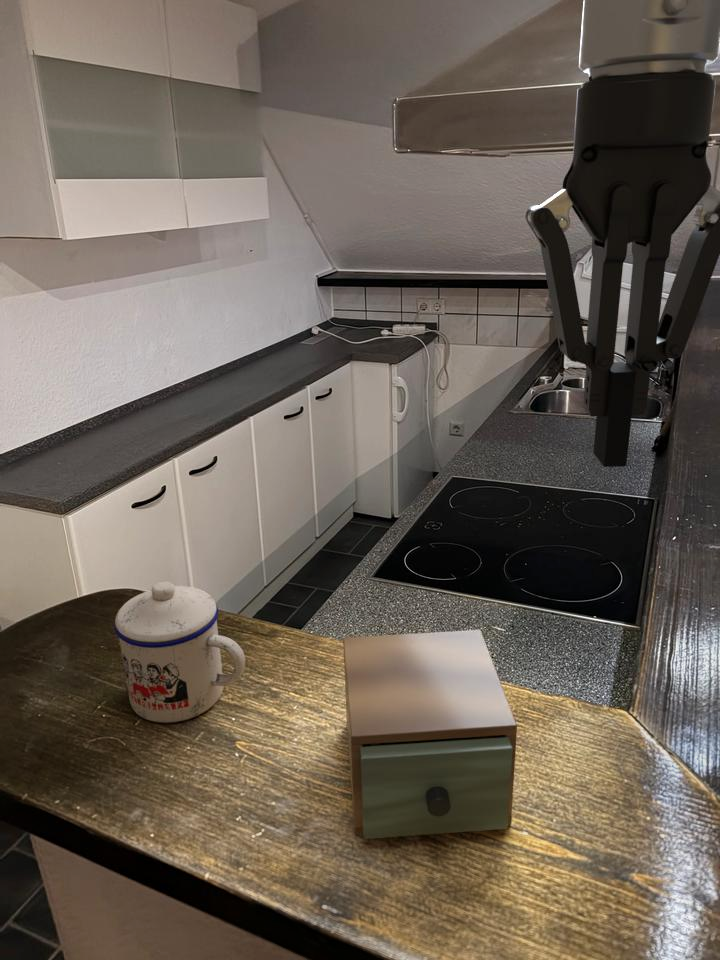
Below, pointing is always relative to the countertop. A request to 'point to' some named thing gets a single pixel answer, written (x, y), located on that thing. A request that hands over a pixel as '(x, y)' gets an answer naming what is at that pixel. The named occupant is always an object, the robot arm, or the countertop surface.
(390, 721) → the cabinet
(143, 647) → the teacup with lid
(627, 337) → the robot arm
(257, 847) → the countertop surface
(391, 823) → the drawer
